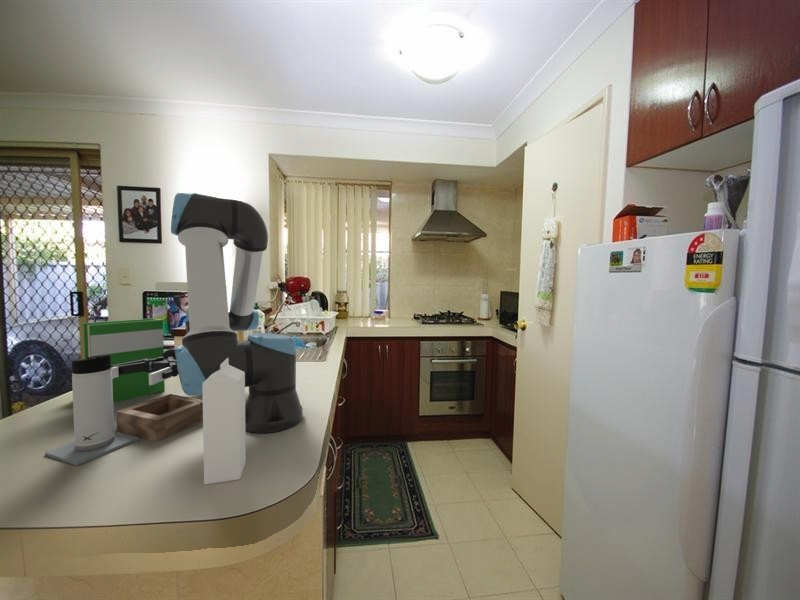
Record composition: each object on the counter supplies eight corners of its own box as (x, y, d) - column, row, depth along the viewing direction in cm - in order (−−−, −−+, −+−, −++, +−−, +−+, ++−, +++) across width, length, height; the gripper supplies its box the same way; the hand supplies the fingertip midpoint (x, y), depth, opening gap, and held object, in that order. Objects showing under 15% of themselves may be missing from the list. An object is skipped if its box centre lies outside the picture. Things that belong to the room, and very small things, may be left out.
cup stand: (207, 418, 85) (207, 400, 84) (156, 441, 72) (155, 420, 72) (170, 411, 89) (170, 393, 89) (116, 431, 77) (116, 411, 77)
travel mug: (91, 453, 66) (87, 359, 65) (67, 449, 67) (62, 357, 66) (122, 439, 72) (120, 352, 71) (100, 436, 73) (97, 351, 72)
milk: (204, 485, 57) (200, 366, 56) (213, 466, 63) (210, 358, 62) (240, 479, 59) (238, 363, 58) (246, 461, 65) (244, 356, 63)
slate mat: (138, 440, 73) (138, 437, 73) (76, 465, 63) (76, 462, 63) (107, 432, 77) (107, 429, 76) (45, 455, 66) (44, 452, 66)
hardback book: (92, 407, 91) (89, 325, 90) (86, 401, 95) (83, 323, 94) (164, 390, 106) (162, 319, 104) (156, 386, 110) (154, 318, 109)
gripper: (221, 370, 98) (174, 394, 77) (140, 370, 98) (70, 394, 76) (221, 347, 98) (173, 364, 77) (139, 346, 97) (68, 363, 76)
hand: (121, 379), depth 76 cm, fingers open, 13 cm apart
